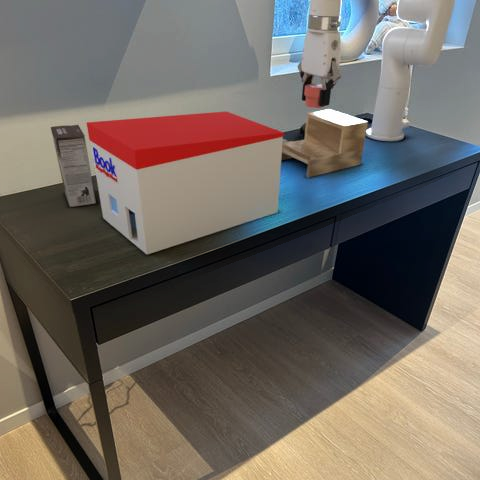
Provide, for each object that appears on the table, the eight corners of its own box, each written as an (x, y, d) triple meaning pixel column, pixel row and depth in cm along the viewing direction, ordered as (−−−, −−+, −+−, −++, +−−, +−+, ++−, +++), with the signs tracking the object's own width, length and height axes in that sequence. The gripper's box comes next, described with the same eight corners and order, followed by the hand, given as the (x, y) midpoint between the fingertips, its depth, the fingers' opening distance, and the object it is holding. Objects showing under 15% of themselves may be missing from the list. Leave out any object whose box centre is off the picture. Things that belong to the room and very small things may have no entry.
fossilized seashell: (330, 133, 156) (321, 130, 165) (321, 114, 153) (312, 112, 162) (310, 146, 157) (302, 142, 166) (301, 128, 154) (293, 125, 163)
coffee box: (64, 193, 120) (49, 126, 111) (90, 189, 123) (78, 123, 113) (69, 207, 114) (54, 137, 104) (96, 203, 116) (85, 134, 106)
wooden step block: (324, 149, 151) (329, 108, 144) (360, 164, 141) (368, 121, 133) (273, 161, 142) (276, 118, 135) (308, 177, 132) (313, 132, 124)
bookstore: (101, 218, 110) (85, 122, 97) (226, 184, 127) (226, 99, 114) (145, 255, 96) (133, 150, 84) (278, 212, 114) (284, 119, 101)
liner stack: (315, 101, 133) (318, 82, 130) (331, 106, 129) (333, 87, 126) (298, 104, 130) (300, 85, 127) (313, 109, 126) (315, 89, 123)
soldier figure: (284, 144, 157) (305, 143, 147) (276, 157, 157) (296, 156, 147) (268, 128, 153) (288, 125, 143) (260, 141, 153) (280, 139, 143)
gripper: (360, 27, 114) (348, 108, 125) (312, 20, 125) (305, 94, 136) (336, 29, 111) (326, 111, 122) (289, 21, 122) (284, 97, 133)
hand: (315, 102), depth 129 cm, fingers closed on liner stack, 6 cm apart
